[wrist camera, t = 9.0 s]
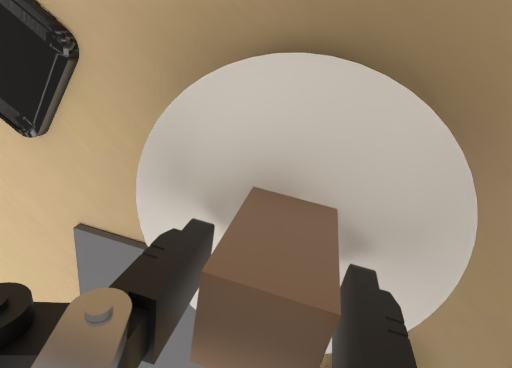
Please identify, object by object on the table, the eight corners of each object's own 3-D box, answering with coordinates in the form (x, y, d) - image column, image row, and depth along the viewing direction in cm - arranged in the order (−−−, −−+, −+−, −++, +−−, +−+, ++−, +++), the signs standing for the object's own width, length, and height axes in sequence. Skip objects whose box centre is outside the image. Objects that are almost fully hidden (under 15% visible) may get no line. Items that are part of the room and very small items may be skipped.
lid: (545, 98, 9) (858, 159, 4) (388, 369, 15) (422, 553, 9) (153, 21, 11) (-24, -16, 5) (145, 288, 16) (53, 402, 11)
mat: (285, 286, 20) (284, 292, 20) (248, 418, 27) (246, 425, 27) (79, 223, 23) (73, 227, 22) (92, 360, 29) (87, 365, 29)
